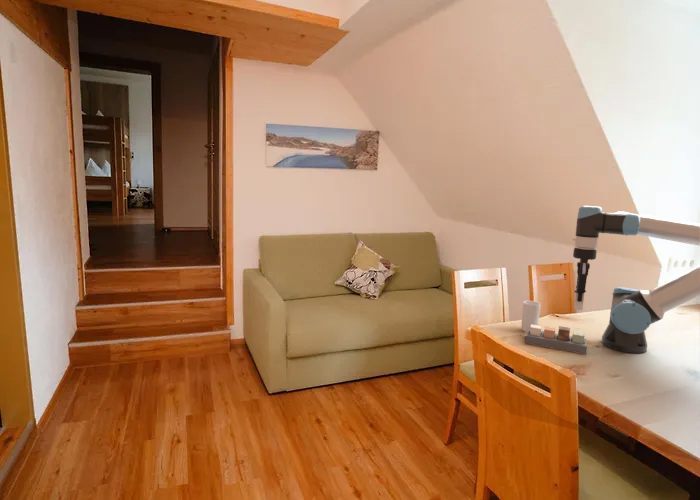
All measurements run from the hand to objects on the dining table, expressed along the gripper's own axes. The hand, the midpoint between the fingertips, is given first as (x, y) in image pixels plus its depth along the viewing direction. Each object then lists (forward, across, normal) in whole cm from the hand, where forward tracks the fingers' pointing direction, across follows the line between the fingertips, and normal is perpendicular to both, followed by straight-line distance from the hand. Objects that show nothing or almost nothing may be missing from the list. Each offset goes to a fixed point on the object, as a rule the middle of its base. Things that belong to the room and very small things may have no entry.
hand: (578, 309), depth 165 cm
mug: (+15, -13, -16) cm, 26 cm away
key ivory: (+13, +1, -14) cm, 19 cm away
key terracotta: (+13, +1, -9) cm, 16 cm away
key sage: (+13, +1, +1) cm, 13 cm away
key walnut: (+12, +1, -4) cm, 13 cm away
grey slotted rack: (+15, +1, -6) cm, 16 cm away
